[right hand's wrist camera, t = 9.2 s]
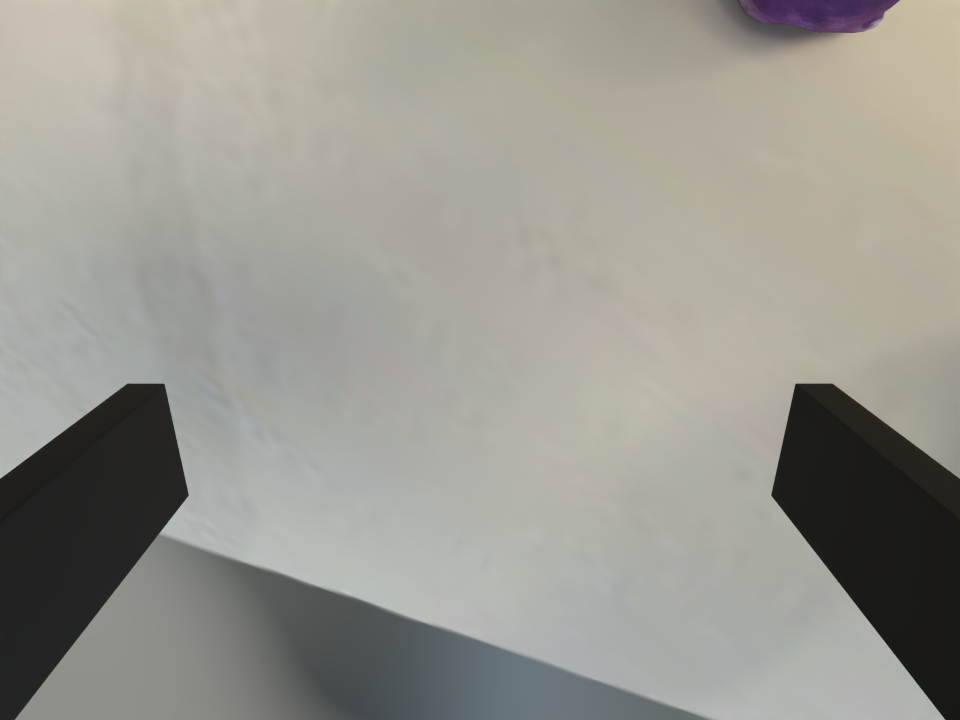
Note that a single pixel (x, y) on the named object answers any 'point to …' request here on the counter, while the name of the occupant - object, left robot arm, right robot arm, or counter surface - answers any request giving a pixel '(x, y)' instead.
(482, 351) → the counter surface
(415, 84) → the counter surface
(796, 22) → the figurine
